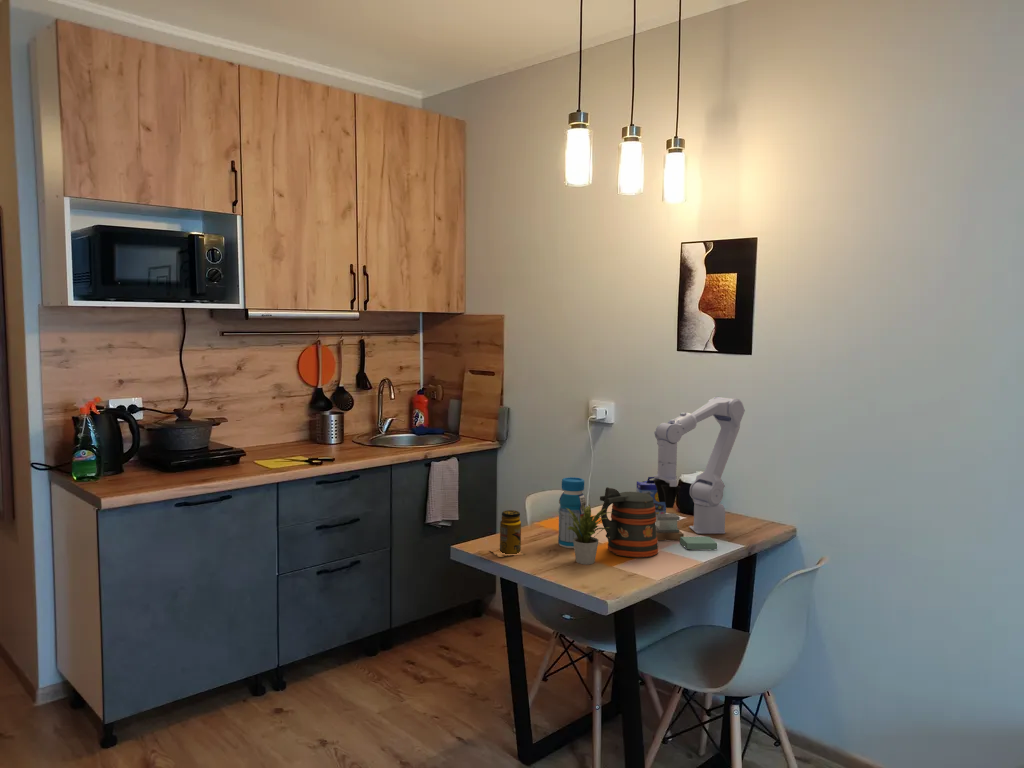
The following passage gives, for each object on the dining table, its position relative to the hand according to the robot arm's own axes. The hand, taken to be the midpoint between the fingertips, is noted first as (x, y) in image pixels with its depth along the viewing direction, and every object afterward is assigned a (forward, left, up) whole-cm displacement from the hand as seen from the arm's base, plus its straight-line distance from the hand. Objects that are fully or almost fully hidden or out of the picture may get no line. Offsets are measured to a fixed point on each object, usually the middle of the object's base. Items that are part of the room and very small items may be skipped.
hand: (666, 504), depth 233 cm
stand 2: (-7, +10, -10) cm, 16 cm away
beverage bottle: (+31, +7, -11) cm, 33 cm away
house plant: (+29, +24, -11) cm, 39 cm away
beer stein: (+16, +15, -11) cm, 24 cm away
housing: (0, 0, -8) cm, 8 cm away
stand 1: (0, 0, -10) cm, 10 cm away
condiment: (+51, +14, -11) cm, 54 cm away
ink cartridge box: (-2, -25, -11) cm, 27 cm away
